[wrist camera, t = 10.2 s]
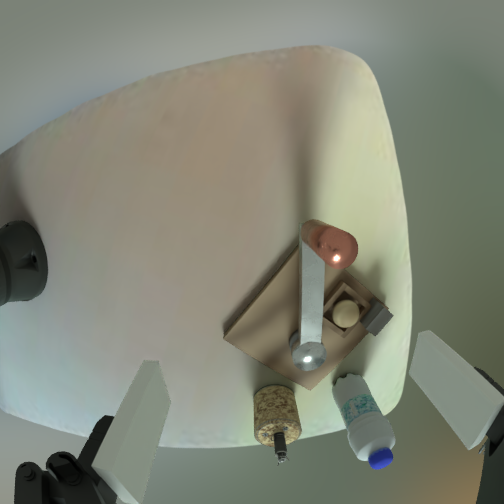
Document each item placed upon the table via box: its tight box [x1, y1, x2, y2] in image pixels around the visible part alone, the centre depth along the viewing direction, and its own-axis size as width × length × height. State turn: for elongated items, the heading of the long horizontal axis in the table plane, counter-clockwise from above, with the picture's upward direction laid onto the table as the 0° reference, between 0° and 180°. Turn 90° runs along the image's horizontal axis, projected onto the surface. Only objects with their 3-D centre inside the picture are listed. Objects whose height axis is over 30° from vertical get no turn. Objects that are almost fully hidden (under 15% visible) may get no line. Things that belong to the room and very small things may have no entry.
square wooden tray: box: [223, 245, 393, 390], centre depth 38 cm, size 18×19×6 cm
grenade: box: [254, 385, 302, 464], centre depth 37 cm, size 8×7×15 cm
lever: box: [291, 219, 358, 371], centre depth 30 cm, size 21×5×12 cm, turn 2°
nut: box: [332, 300, 359, 328], centre depth 37 cm, size 4×4×4 cm
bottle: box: [332, 373, 395, 469], centre depth 34 cm, size 7×7×20 cm
